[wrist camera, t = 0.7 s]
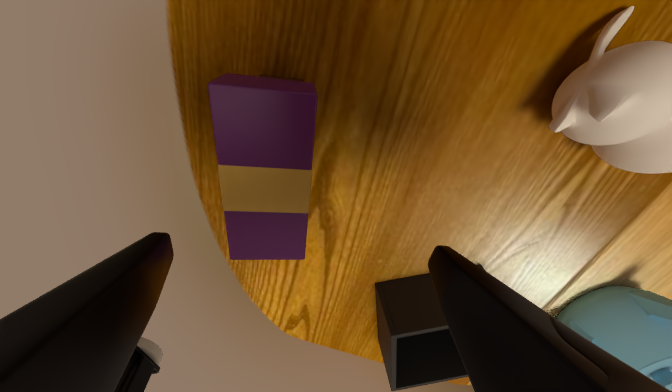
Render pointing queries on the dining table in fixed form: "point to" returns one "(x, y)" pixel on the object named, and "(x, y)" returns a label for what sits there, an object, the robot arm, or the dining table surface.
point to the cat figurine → (620, 102)
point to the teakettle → (627, 327)
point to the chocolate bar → (264, 163)
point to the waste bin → (415, 334)
